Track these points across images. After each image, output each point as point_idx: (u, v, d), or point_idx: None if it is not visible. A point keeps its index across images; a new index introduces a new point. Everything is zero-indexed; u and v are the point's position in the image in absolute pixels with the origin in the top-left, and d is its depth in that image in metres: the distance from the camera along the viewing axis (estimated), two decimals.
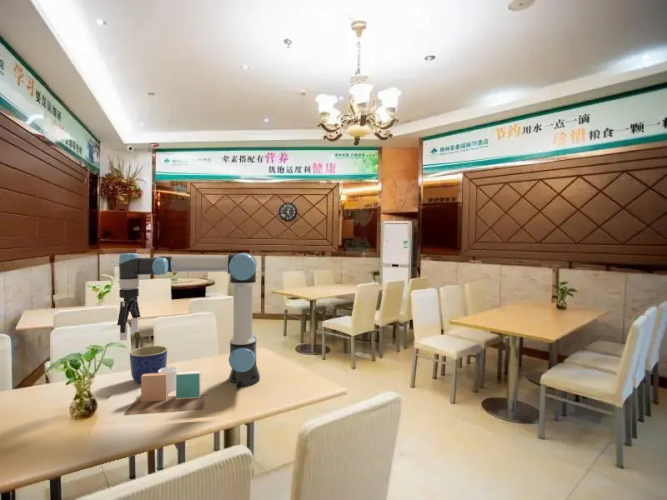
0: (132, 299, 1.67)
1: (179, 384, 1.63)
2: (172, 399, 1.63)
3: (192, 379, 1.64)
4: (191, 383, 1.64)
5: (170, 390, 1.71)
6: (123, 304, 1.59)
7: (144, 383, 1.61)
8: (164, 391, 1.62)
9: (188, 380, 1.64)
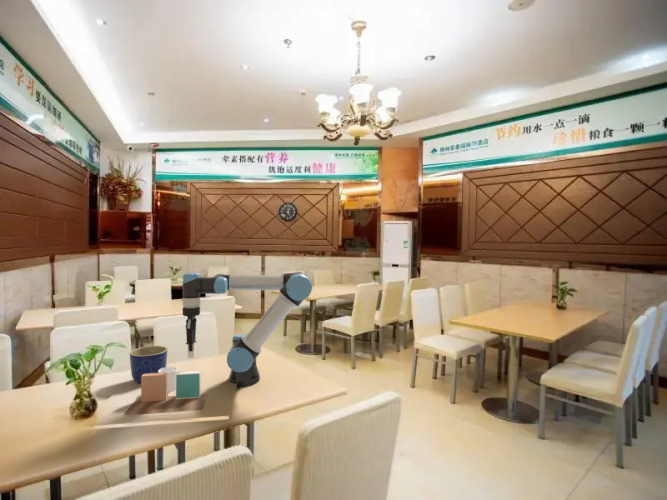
0: None
1: (179, 384, 1.63)
2: (172, 399, 1.63)
3: (192, 379, 1.64)
4: (191, 383, 1.64)
5: (170, 390, 1.71)
6: (188, 327, 1.66)
7: (144, 383, 1.61)
8: (164, 391, 1.62)
9: (188, 380, 1.64)
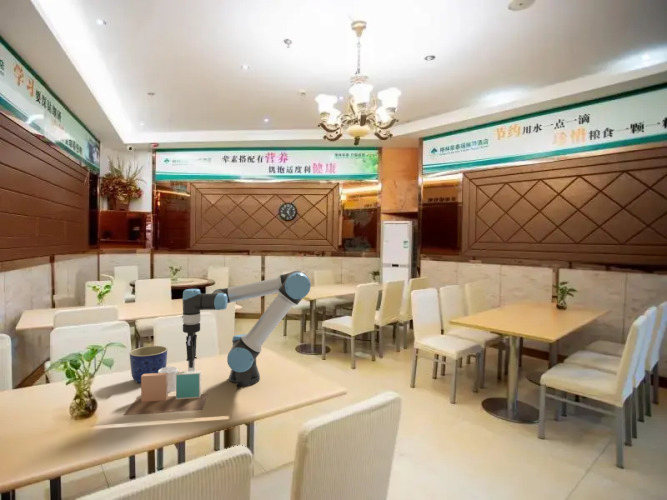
0: None
1: (179, 384, 1.63)
2: (172, 399, 1.63)
3: (192, 379, 1.64)
4: (191, 383, 1.64)
5: (170, 390, 1.71)
6: (189, 344, 1.66)
7: (144, 383, 1.61)
8: (164, 391, 1.62)
9: (188, 380, 1.64)
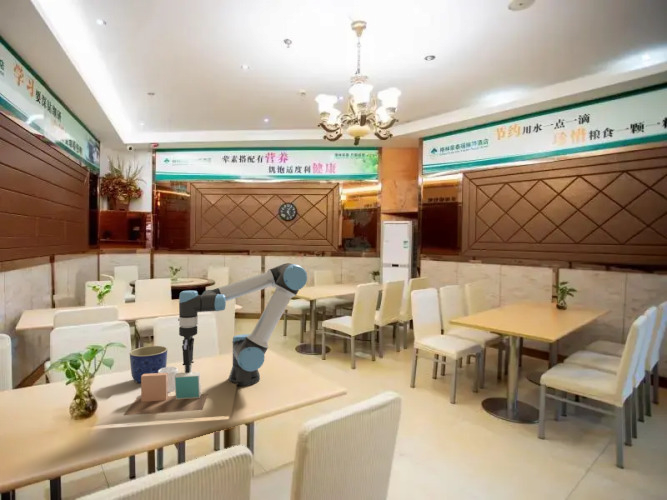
0: None
1: (178, 386, 1.62)
2: (172, 399, 1.63)
3: (191, 381, 1.62)
4: (190, 385, 1.62)
5: (170, 390, 1.71)
6: (185, 348, 1.60)
7: (144, 383, 1.61)
8: (164, 391, 1.62)
9: (187, 382, 1.62)
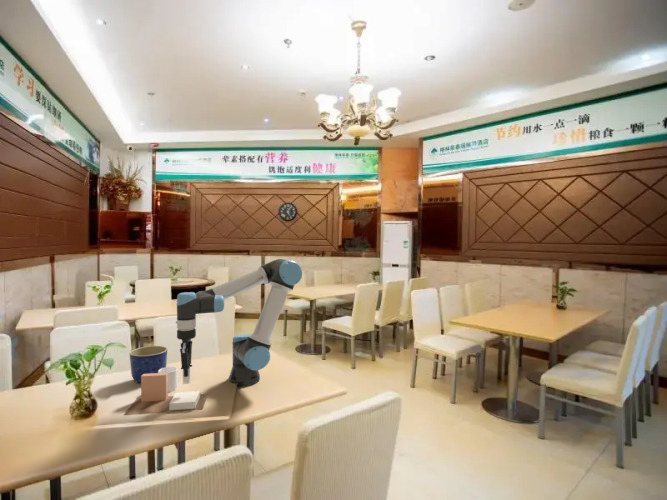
0: None
1: None
2: None
3: None
4: None
5: (170, 390, 1.71)
6: (183, 352, 1.55)
7: (144, 383, 1.61)
8: (164, 391, 1.62)
9: None
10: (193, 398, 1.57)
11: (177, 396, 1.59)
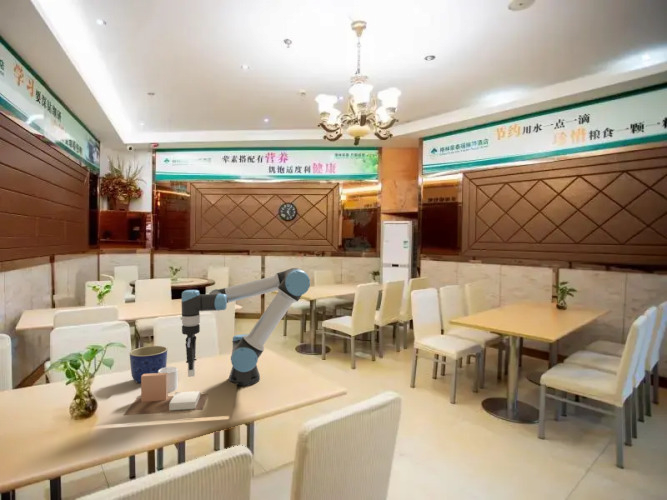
0: None
1: None
2: None
3: None
4: None
5: (170, 390, 1.71)
6: (188, 346, 1.64)
7: (144, 383, 1.61)
8: (164, 391, 1.62)
9: None
10: (193, 398, 1.57)
11: (177, 396, 1.59)
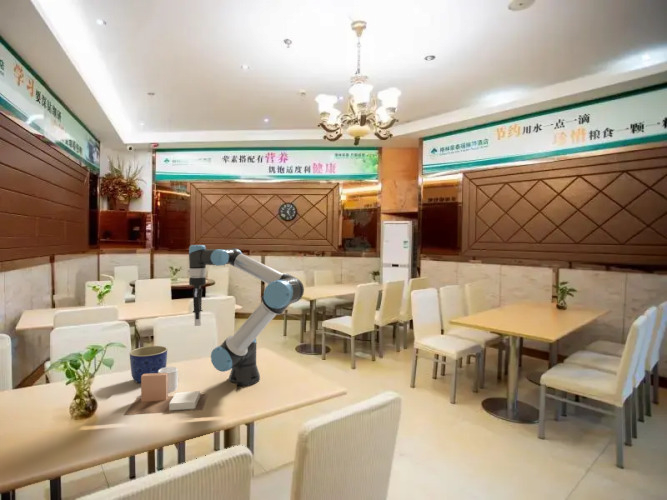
0: None
1: None
2: None
3: None
4: None
5: (170, 390, 1.71)
6: (195, 296, 1.75)
7: (144, 383, 1.61)
8: (164, 391, 1.62)
9: None
10: (193, 398, 1.57)
11: (177, 396, 1.59)
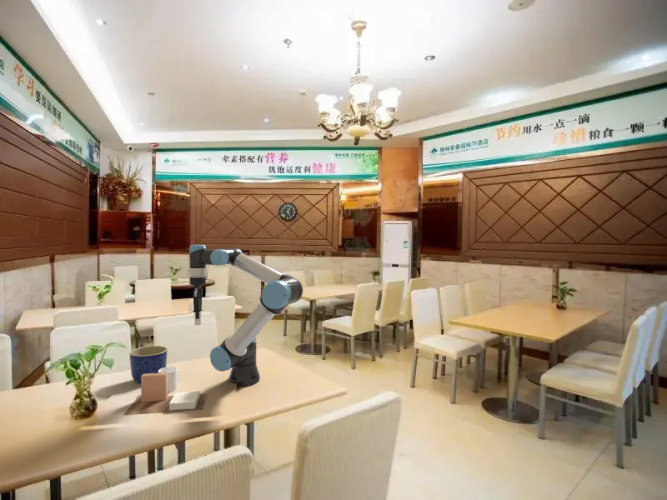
0: None
1: None
2: None
3: None
4: None
5: (170, 390, 1.71)
6: (195, 295, 1.76)
7: (144, 383, 1.61)
8: (164, 391, 1.62)
9: None
10: (193, 398, 1.57)
11: (177, 396, 1.59)
